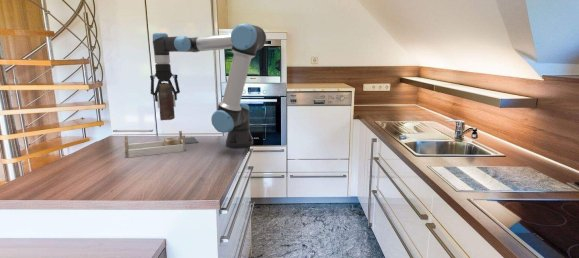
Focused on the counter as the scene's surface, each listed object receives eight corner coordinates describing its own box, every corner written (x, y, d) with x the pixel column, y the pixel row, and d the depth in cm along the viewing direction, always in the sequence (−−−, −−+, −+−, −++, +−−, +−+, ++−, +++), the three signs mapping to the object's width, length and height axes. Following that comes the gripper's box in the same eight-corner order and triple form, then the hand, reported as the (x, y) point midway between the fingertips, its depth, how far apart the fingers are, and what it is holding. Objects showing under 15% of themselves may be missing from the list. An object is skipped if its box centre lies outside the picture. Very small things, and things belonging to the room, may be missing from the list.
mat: (194, 137, 200) (193, 136, 200) (198, 142, 187) (198, 142, 187) (169, 139, 194) (169, 139, 194) (172, 145, 181) (172, 144, 181)
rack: (182, 145, 182) (181, 130, 180) (186, 150, 171) (185, 135, 169) (126, 150, 170) (124, 135, 169) (126, 157, 159) (124, 141, 157)
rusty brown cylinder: (169, 118, 183) (166, 82, 179) (178, 119, 179) (174, 82, 175) (157, 120, 177) (153, 83, 173) (166, 121, 173) (162, 83, 169)
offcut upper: (175, 142, 178) (175, 137, 177) (179, 145, 172) (179, 139, 172) (164, 144, 175) (163, 138, 174) (167, 146, 169) (167, 141, 168)
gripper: (181, 63, 180) (184, 104, 185) (141, 64, 171) (145, 107, 175) (183, 63, 174) (187, 106, 178) (142, 64, 164) (147, 109, 169)
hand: (166, 106), depth 177 cm, fingers closed on rusty brown cylinder, 7 cm apart
